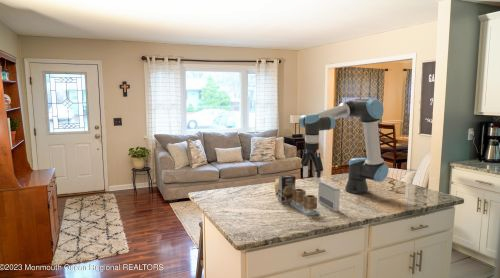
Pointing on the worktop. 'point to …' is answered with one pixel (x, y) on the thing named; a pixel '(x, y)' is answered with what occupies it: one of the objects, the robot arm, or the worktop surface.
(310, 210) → the sleeve
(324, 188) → the feeder housing
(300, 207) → the pin board
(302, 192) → the sleeve
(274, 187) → the sculpture
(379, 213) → the worktop surface
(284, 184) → the coffee box
